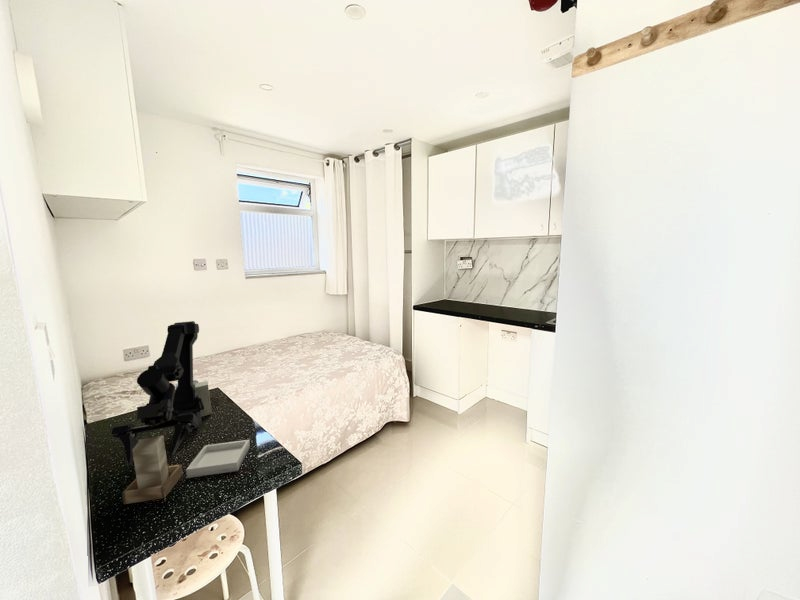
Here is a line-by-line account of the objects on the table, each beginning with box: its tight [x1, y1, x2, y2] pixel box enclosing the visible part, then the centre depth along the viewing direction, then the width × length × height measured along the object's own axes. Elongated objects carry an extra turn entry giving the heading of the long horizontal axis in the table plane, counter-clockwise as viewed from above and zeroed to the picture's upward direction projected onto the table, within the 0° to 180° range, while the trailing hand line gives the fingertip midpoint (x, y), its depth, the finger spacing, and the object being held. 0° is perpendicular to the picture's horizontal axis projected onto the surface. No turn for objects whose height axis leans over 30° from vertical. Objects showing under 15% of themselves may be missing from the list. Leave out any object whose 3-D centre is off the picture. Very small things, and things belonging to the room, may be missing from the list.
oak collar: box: [121, 464, 184, 505], centre depth 83 cm, size 9×9×3 cm
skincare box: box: [195, 380, 213, 418], centre depth 126 cm, size 6×4×12 cm
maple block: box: [132, 434, 169, 489], centre depth 82 cm, size 5×5×13 cm
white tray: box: [185, 439, 251, 479], centre depth 93 cm, size 13×12×2 cm
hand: (151, 459), depth 82 cm, fingers open, 9 cm apart
